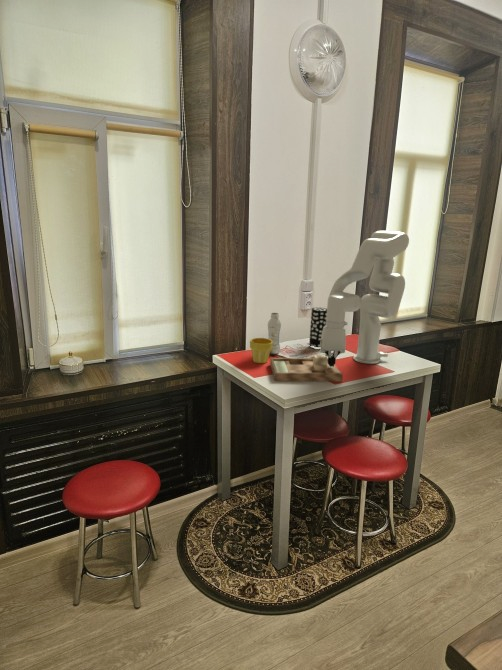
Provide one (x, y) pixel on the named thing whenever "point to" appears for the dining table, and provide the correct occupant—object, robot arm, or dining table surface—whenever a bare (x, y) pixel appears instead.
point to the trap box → (302, 370)
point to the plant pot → (260, 349)
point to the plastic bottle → (274, 332)
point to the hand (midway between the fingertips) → (331, 365)
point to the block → (320, 362)
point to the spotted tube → (317, 325)
